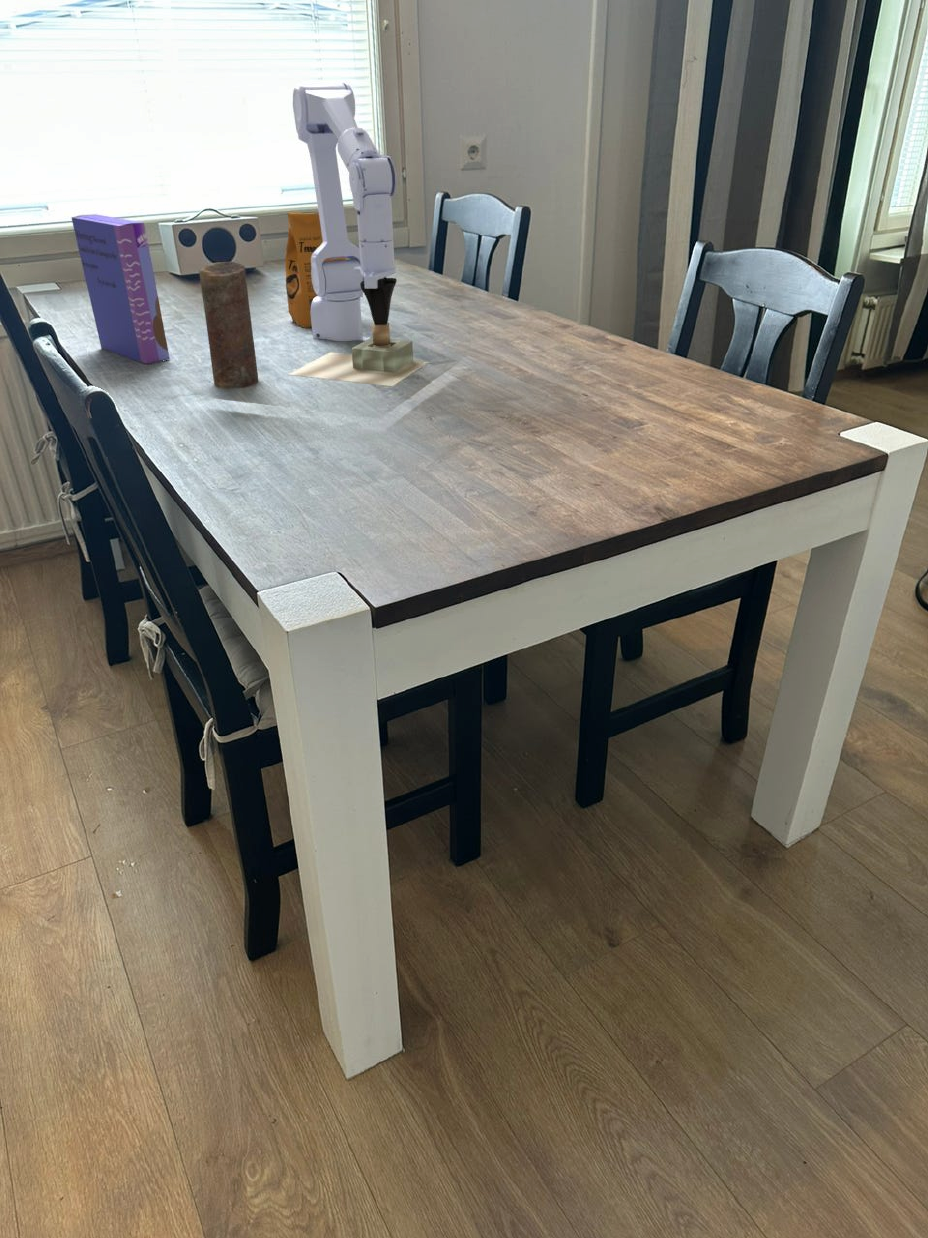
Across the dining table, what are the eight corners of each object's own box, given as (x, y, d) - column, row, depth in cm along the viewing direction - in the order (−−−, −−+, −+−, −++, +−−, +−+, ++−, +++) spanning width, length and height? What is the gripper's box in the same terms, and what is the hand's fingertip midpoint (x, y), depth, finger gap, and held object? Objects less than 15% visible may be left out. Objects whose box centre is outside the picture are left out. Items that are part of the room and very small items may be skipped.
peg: (373, 366, 154) (370, 325, 150) (376, 362, 156) (373, 321, 153) (390, 366, 153) (387, 325, 150) (392, 361, 156) (390, 321, 152)
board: (288, 382, 151) (285, 353, 148) (330, 360, 163) (328, 333, 160) (393, 394, 145) (391, 364, 142) (428, 370, 156) (427, 342, 154)
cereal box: (169, 359, 164) (143, 221, 152) (147, 364, 162) (118, 224, 149) (123, 343, 175) (95, 212, 162) (101, 348, 172) (71, 215, 159)
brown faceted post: (269, 386, 150) (252, 262, 139) (246, 399, 144) (228, 270, 133) (230, 382, 152) (211, 260, 141) (206, 394, 146) (185, 268, 135)
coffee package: (285, 320, 190) (273, 209, 179) (339, 313, 195) (330, 205, 183) (299, 329, 183) (287, 215, 171) (355, 322, 188) (347, 211, 176)
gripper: (360, 232, 150) (366, 313, 157) (343, 246, 138) (349, 334, 145) (401, 232, 150) (404, 314, 157) (386, 246, 137) (391, 334, 145)
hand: (381, 323), depth 151 cm, fingers closed, pressing on peg
